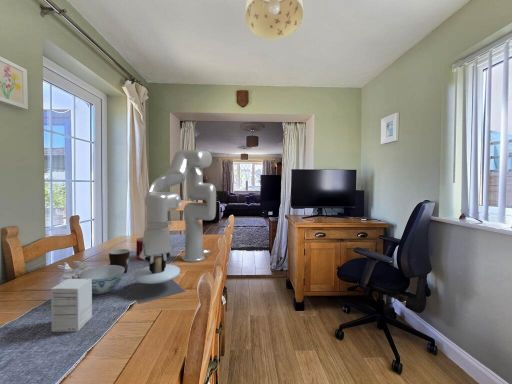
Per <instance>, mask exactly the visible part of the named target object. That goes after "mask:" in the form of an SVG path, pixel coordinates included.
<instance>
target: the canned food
mask: <svg viewBox="0 0 512 384" xmlns="http://www.w3.org/2000/svg"><path fill="white" fill-rule="evenodd" d="M135 245H136V248H135V249H136V251H135V252H136V253H135V254H136V260H138V261H146V260H145V259H142V258H140V257H139V255H140V254H141V252H142V250H143V236H142V237H137V238H136V243H135ZM145 256H146V255H145ZM147 257H148V256H147Z"/></svg>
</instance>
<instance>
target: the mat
mask: <svg viewBox="0 0 512 384" xmlns="http://www.w3.org/2000/svg"><path fill="white" fill-rule="evenodd" d="M128 289H129V291H130V292H131V294H132V296H133V298H134V299H135V301H136V302H137V303H138V304H142V303H147V302H150V301H156V300H158V299H159V300H160V299H163V298H166V297H170V296H174V295H179V294H182V293H185V292H187V291H186V290H184V288H182V287H181V285H179V284H178V282H176V281H175V280H174V279H172V280H169V281H166V282H162V283H154V284H146V283H138V284H135V285H129V286H128Z"/></svg>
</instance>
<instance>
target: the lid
mask: <svg viewBox="0 0 512 384" xmlns="http://www.w3.org/2000/svg"><path fill="white" fill-rule="evenodd" d="M153 261H154V263H155V273H152V272H151V271H150V270H149V265H148V266H144V267H142V268H139V269H138V270H136V271H135V272H134V273H133V280H134V281H135V282H138V283H139V284H143V283H146V284H154V283H162V282H166V281H169V280H174V279H177V277H179V275H180V274H181V268H180V267H178V266H177V265H174V264H169V263H166V268H165V271H162V256H161V255H154V259H153Z"/></svg>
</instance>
